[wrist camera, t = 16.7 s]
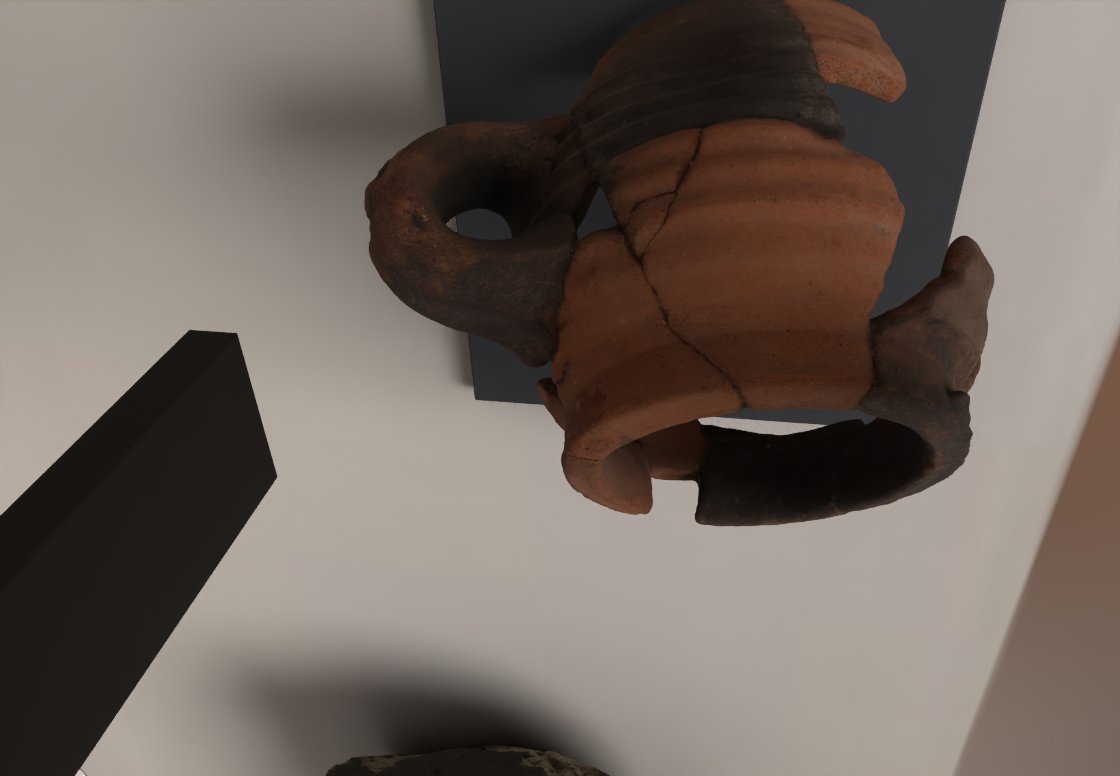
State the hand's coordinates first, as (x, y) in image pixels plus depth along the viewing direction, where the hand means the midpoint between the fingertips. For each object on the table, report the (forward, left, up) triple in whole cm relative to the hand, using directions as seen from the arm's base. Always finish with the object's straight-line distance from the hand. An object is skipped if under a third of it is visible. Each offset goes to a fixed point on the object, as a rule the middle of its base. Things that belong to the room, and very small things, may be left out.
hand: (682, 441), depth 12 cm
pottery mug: (0, 0, -9) cm, 9 cm away
